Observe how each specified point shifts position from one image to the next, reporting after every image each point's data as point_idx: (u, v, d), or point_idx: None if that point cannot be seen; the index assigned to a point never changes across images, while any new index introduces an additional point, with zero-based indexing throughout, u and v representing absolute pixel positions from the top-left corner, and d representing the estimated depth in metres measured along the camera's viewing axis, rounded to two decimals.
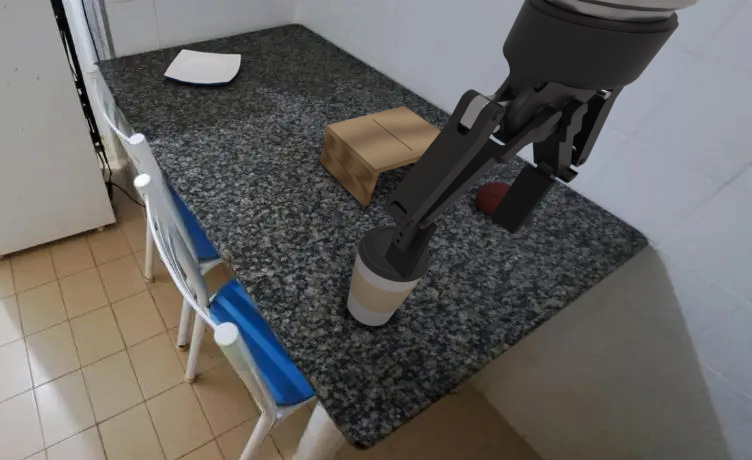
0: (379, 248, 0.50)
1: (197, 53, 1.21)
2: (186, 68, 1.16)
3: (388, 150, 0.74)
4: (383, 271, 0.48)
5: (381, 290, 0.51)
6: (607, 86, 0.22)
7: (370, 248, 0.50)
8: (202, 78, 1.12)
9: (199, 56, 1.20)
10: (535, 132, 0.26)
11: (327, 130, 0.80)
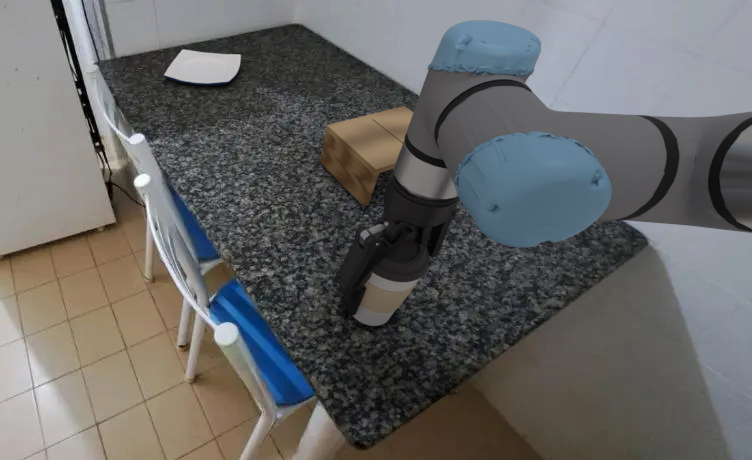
0: None
1: (197, 53, 1.21)
2: (186, 68, 1.16)
3: (388, 150, 0.74)
4: (383, 271, 0.48)
5: (381, 290, 0.51)
6: (428, 226, 0.42)
7: None
8: (202, 78, 1.12)
9: (199, 56, 1.20)
10: (402, 241, 0.46)
11: (327, 130, 0.80)
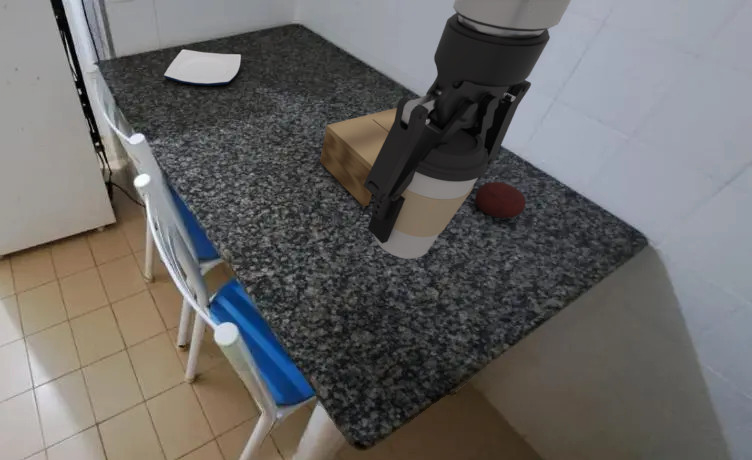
0: None
1: (197, 53, 1.21)
2: (186, 68, 1.16)
3: None
4: (430, 167, 0.36)
5: (425, 198, 0.39)
6: (502, 84, 0.31)
7: None
8: (202, 78, 1.12)
9: (199, 56, 1.20)
10: (459, 119, 0.34)
11: (327, 130, 0.80)
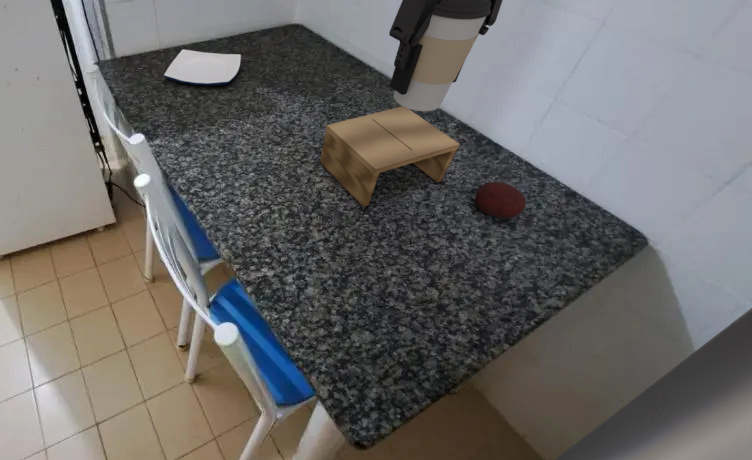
0: None
1: (197, 53, 1.21)
2: (186, 68, 1.16)
3: (388, 150, 0.74)
4: (445, 7, 0.45)
5: (439, 41, 0.48)
6: None
7: None
8: (202, 78, 1.12)
9: (199, 56, 1.20)
10: None
11: (327, 130, 0.80)
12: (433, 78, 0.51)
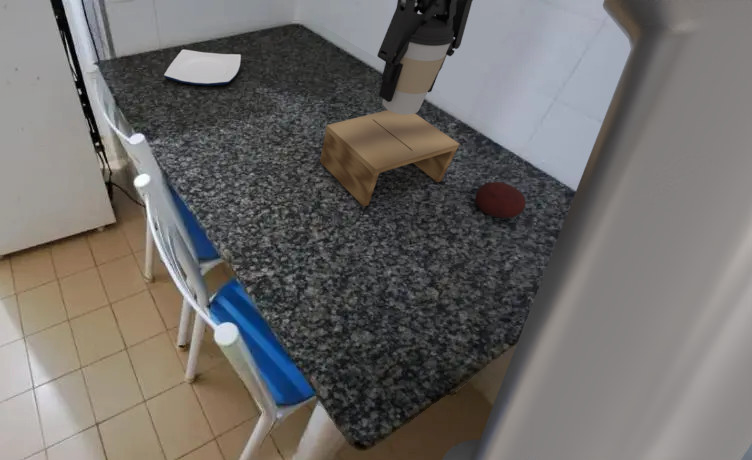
0: None
1: (197, 53, 1.21)
2: (186, 68, 1.16)
3: (388, 150, 0.74)
4: (418, 36, 0.61)
5: (415, 61, 0.63)
6: None
7: None
8: (202, 78, 1.12)
9: (199, 56, 1.20)
10: (434, 4, 0.58)
11: (327, 130, 0.80)
12: (412, 89, 0.67)
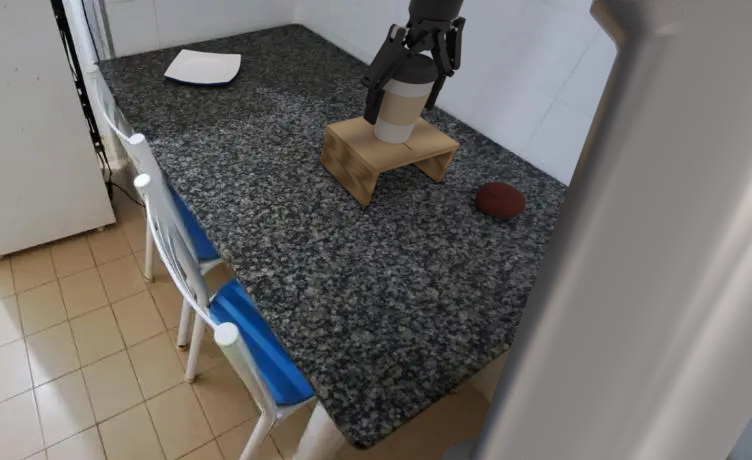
0: None
1: (197, 53, 1.21)
2: (186, 68, 1.16)
3: (388, 150, 0.74)
4: (404, 76, 0.65)
5: (402, 97, 0.68)
6: (442, 19, 0.59)
7: None
8: (202, 78, 1.12)
9: (199, 56, 1.20)
10: (422, 42, 0.62)
11: (327, 130, 0.80)
12: (400, 121, 0.71)
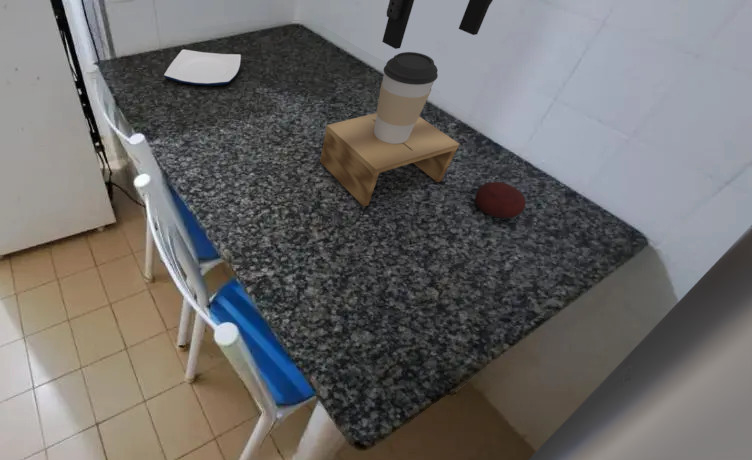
0: (400, 63, 0.67)
1: (197, 53, 1.21)
2: (186, 68, 1.16)
3: (388, 150, 0.74)
4: (403, 76, 0.65)
5: (402, 98, 0.68)
6: None
7: (393, 64, 0.67)
8: (202, 78, 1.12)
9: (199, 56, 1.20)
10: None
11: (327, 130, 0.80)
12: (400, 122, 0.71)
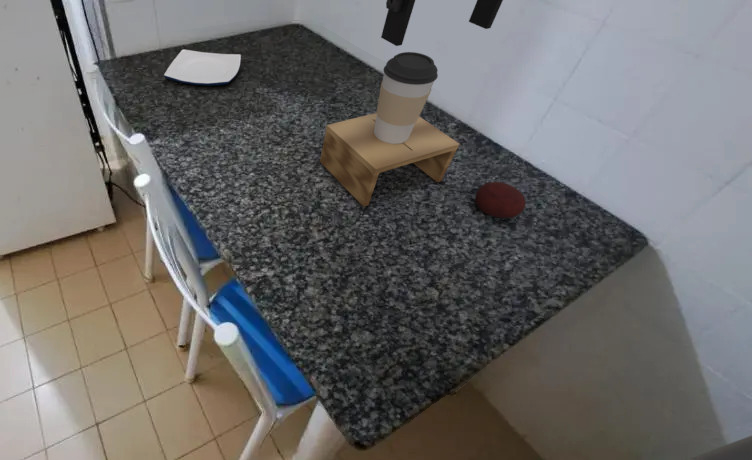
0: (400, 63, 0.67)
1: (197, 53, 1.21)
2: (186, 68, 1.16)
3: (388, 150, 0.74)
4: (403, 76, 0.65)
5: (402, 97, 0.68)
6: None
7: (393, 64, 0.67)
8: (202, 78, 1.12)
9: (199, 56, 1.20)
10: None
11: (327, 130, 0.80)
12: (400, 122, 0.71)
